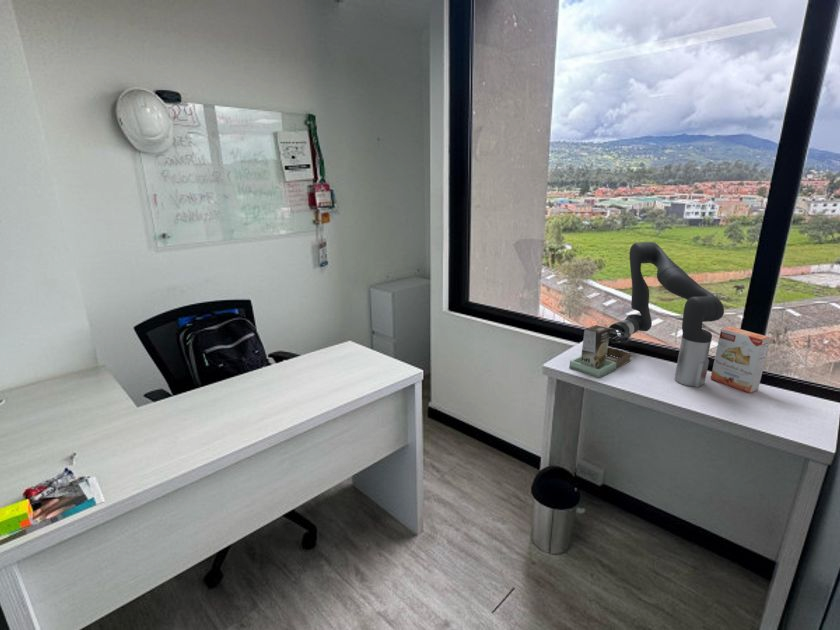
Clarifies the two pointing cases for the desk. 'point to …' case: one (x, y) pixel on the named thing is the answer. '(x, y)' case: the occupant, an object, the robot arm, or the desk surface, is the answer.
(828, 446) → the desk surface
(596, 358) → the coffee box
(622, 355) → the brown tray
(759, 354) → the cracker box
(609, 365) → the sage tray
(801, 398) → the desk surface
